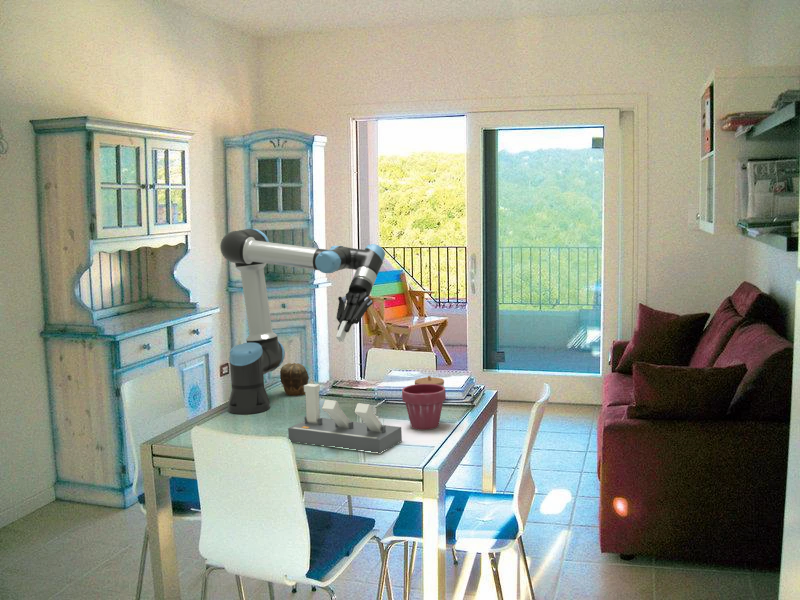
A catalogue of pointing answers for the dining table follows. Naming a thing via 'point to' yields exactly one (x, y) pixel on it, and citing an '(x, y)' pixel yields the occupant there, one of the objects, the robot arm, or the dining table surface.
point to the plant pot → (424, 404)
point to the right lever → (368, 417)
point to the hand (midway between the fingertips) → (339, 339)
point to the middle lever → (336, 413)
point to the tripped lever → (312, 402)
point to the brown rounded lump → (294, 379)
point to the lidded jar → (430, 381)
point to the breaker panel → (345, 435)
